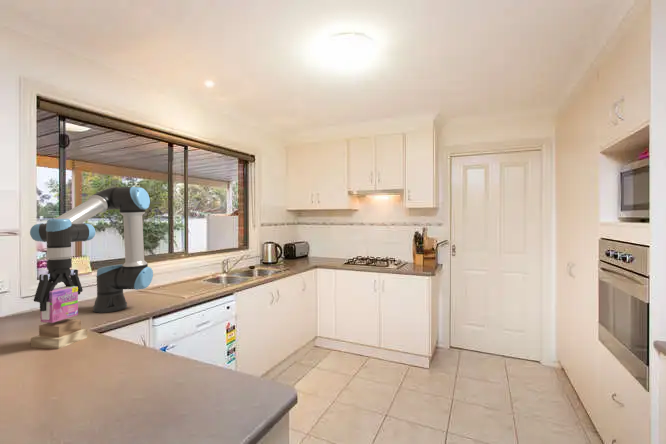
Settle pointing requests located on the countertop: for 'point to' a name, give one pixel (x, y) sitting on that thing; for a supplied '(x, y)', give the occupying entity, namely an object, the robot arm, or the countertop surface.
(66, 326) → the tower top
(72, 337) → the tower base
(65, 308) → the box
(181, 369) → the countertop surface
